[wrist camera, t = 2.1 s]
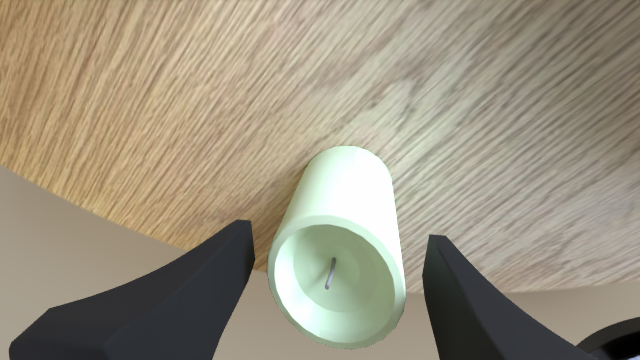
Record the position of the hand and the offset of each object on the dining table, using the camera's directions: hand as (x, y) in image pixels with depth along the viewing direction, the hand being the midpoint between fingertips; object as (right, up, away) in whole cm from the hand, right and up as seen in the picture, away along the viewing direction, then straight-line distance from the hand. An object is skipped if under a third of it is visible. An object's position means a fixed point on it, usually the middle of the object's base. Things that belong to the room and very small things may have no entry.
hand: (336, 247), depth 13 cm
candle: (+1, +2, +5) cm, 6 cm away
